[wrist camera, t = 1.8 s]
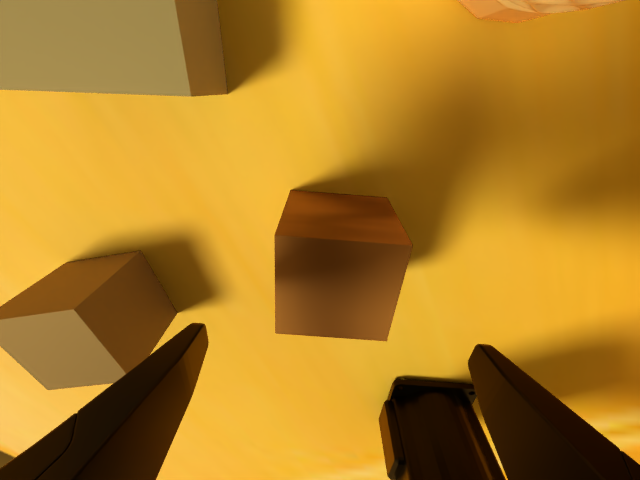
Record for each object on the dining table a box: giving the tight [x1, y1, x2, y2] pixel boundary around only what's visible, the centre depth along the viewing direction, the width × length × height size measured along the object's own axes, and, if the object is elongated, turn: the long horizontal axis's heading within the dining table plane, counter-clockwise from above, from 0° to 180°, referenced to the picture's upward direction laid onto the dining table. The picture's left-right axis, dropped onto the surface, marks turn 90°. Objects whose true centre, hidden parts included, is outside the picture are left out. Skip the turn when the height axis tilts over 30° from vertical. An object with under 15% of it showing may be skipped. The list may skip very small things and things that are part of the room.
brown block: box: [0, 251, 177, 390], centre depth 16 cm, size 5×5×5 cm
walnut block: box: [275, 190, 413, 341], centre depth 13 cm, size 5×5×5 cm
